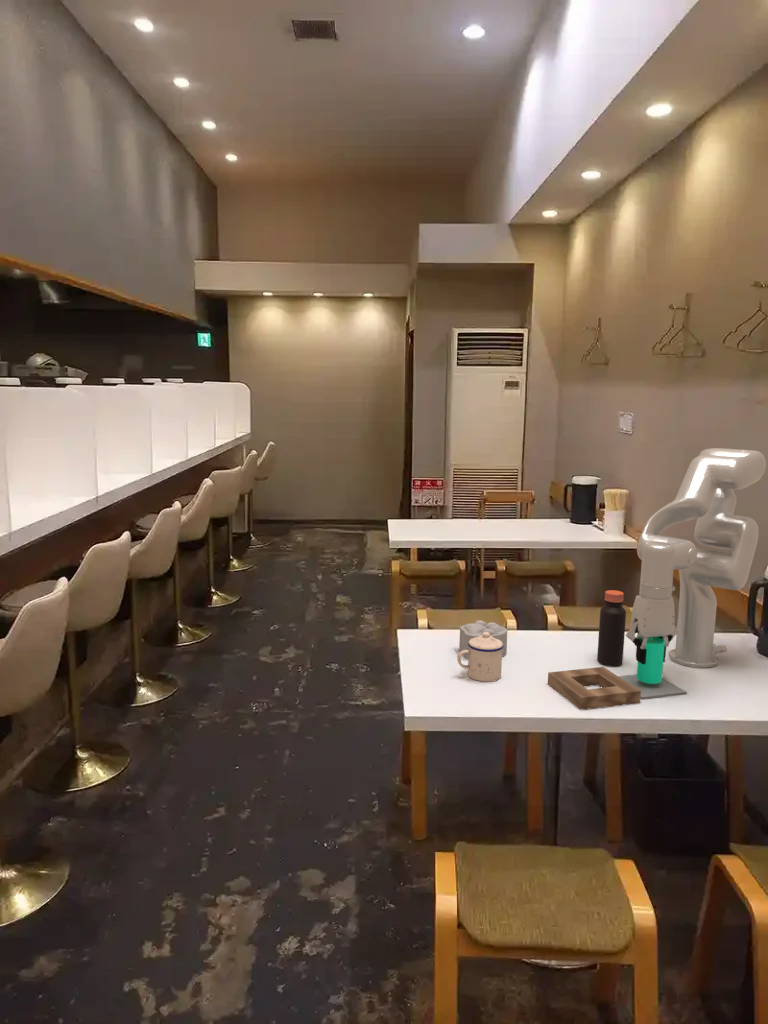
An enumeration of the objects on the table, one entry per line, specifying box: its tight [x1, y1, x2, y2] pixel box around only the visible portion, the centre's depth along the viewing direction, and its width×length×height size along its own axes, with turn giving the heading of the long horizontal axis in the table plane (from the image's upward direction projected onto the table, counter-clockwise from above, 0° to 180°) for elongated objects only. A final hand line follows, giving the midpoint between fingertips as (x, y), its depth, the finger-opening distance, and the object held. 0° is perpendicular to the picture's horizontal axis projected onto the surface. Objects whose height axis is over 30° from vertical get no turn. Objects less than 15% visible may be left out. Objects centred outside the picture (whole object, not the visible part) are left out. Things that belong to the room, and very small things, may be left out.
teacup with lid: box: [456, 632, 503, 683], centre depth 189 cm, size 12×9×12 cm
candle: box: [636, 637, 665, 684], centre depth 184 cm, size 6×6×12 cm
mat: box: [618, 673, 688, 700], centre depth 185 cm, size 13×13×1 cm
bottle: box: [596, 589, 627, 668], centre depth 199 cm, size 7×7×20 cm
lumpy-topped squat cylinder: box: [458, 619, 508, 660], centre depth 206 cm, size 10×13×9 cm
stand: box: [547, 666, 641, 710], centre depth 180 cm, size 16×16×3 cm
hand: (650, 660), depth 184 cm, fingers closed on candle, 4 cm apart
